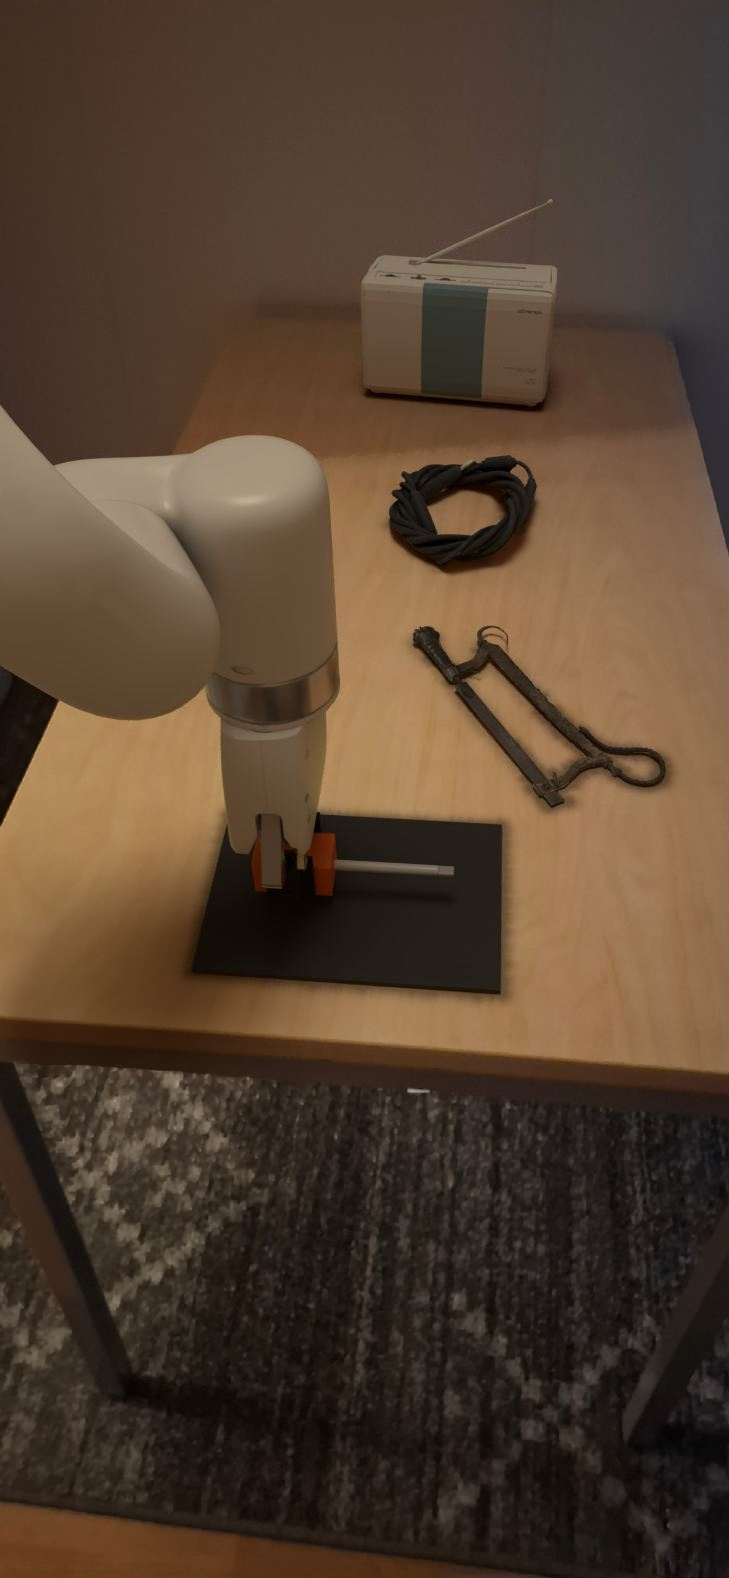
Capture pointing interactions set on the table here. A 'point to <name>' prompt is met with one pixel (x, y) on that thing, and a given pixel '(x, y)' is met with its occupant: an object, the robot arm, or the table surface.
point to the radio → (458, 327)
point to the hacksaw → (595, 756)
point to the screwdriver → (343, 865)
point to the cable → (431, 479)
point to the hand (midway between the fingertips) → (295, 871)
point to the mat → (368, 912)
